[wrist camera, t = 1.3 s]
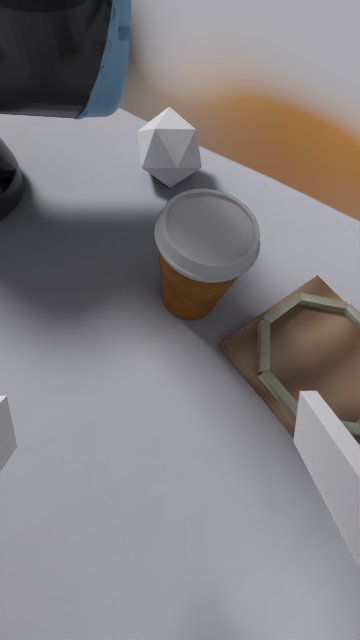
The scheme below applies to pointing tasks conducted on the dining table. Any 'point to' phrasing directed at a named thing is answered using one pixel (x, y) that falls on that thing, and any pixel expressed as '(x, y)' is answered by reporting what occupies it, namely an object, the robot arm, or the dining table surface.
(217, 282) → the disposable coffee cup
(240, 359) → the cup holder board
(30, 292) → the dining table surface
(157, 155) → the die
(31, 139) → the dining table surface
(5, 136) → the dining table surface
